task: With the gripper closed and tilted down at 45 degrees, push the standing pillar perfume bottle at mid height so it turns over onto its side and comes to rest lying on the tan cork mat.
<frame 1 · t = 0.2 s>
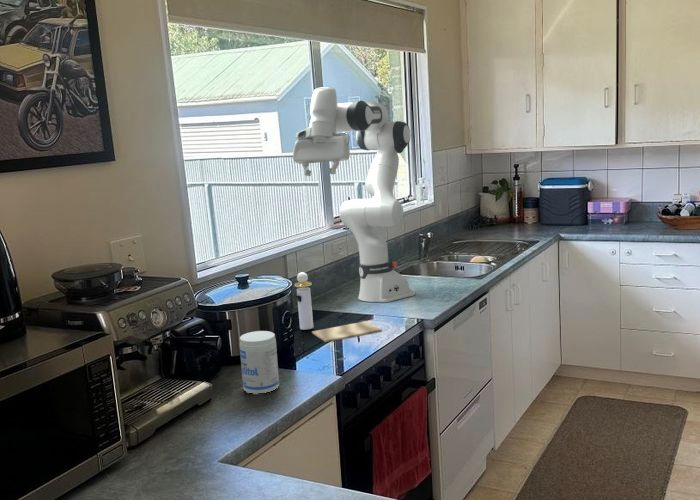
hand: (319, 174, 229), 52 cm above the worktop, tool tilted 20°, fingers open, 8 cm apart
supplement tub: (262, 389, 184), on the worktop
mat: (346, 332, 229), on the worktop
perfume bottle: (306, 330, 235), on the worktop
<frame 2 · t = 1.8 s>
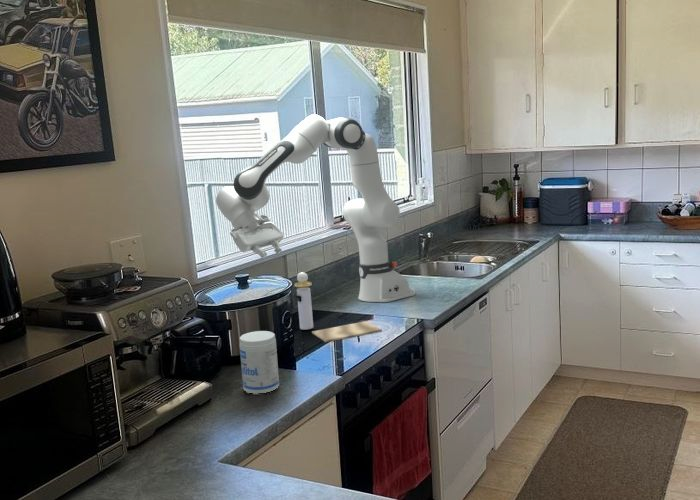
hand: (272, 254, 237), 26 cm above the worktop, tool tilted 45°, fingers open, 6 cm apart
nothing on the worktop moved.
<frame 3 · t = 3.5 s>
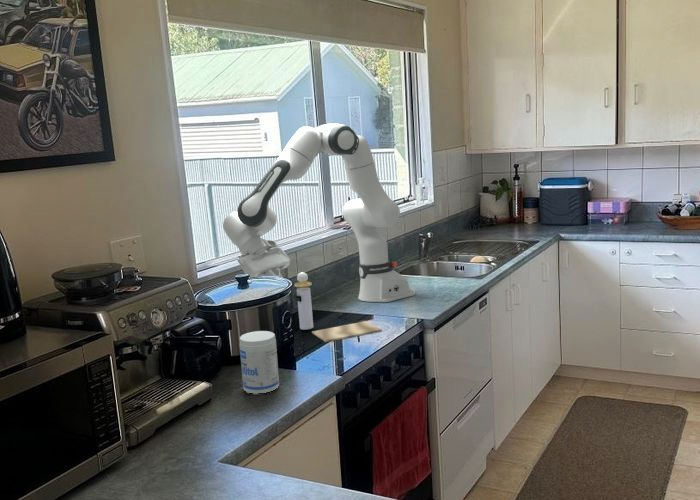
hand: (279, 280, 238), 17 cm above the worktop, tool tilted 45°, fingers closed
nothing on the worktop moved.
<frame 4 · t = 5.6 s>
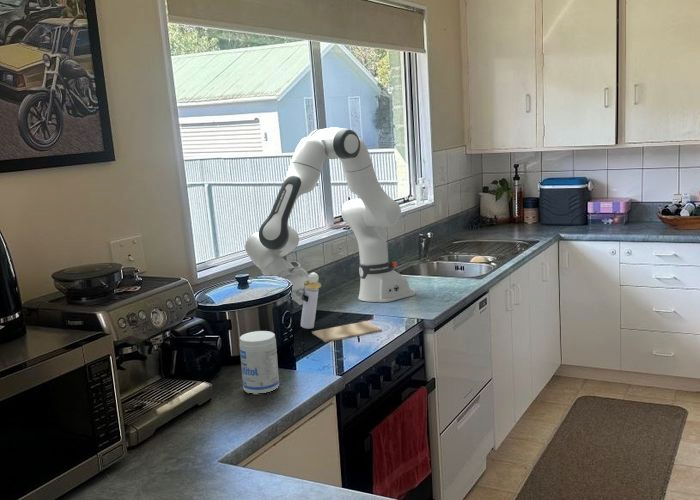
hand: (303, 303, 234), 9 cm above the worktop, tool tilted 45°, fingers closed
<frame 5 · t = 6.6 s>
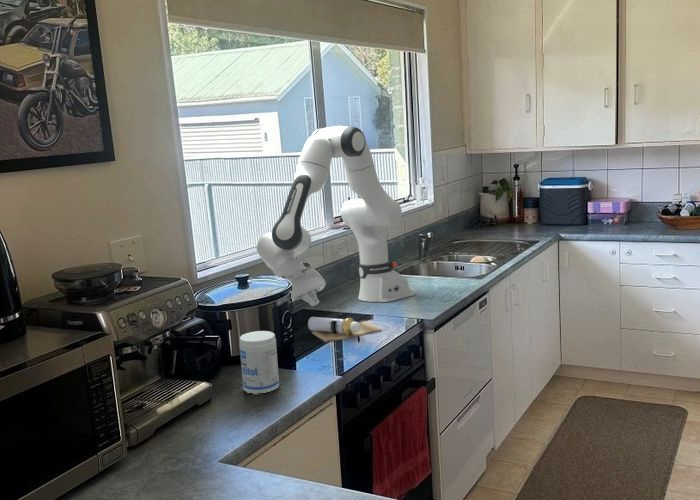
hand: (316, 304, 231), 9 cm above the worktop, tool tilted 45°, fingers closed
perfume bottle: (310, 323, 232), point 3 cm above the worktop, touching mat
everything else where it was.
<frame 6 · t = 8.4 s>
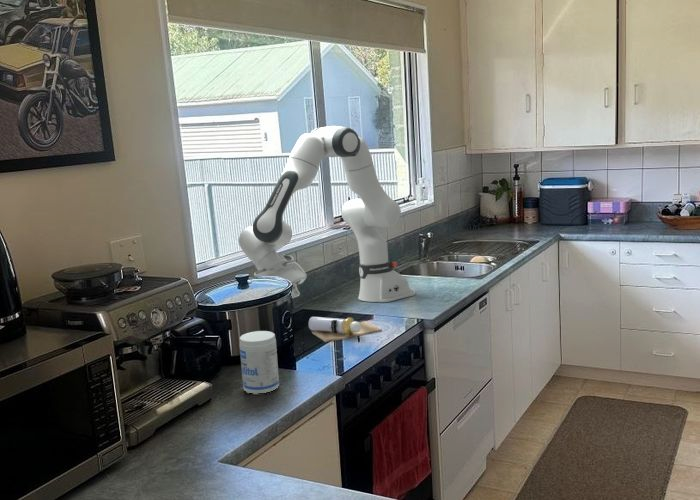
hand: (296, 296, 235), 11 cm above the worktop, tool tilted 45°, fingers closed
nothing on the worktop moved.
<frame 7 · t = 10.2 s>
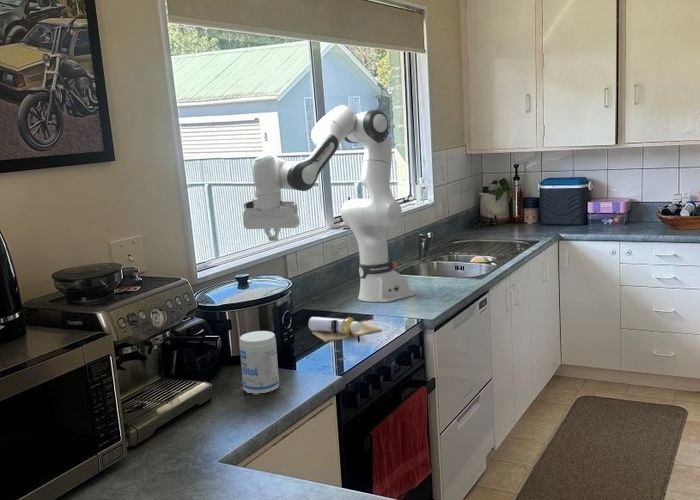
hand: (273, 240, 243), 29 cm above the worktop, tool pointing down, fingers closed
nothing on the worktop moved.
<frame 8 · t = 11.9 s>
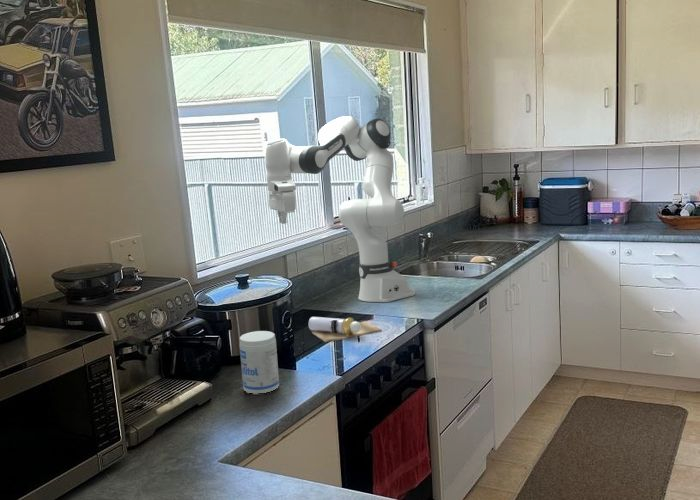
hand: (283, 223, 250), 34 cm above the worktop, tool pointing down, fingers closed
nothing on the worktop moved.
at the end: perfume bottle tilted 88°; perfume bottle touching mat, worktop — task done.
